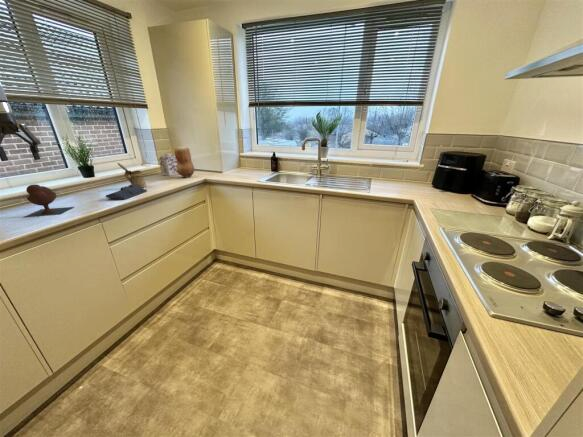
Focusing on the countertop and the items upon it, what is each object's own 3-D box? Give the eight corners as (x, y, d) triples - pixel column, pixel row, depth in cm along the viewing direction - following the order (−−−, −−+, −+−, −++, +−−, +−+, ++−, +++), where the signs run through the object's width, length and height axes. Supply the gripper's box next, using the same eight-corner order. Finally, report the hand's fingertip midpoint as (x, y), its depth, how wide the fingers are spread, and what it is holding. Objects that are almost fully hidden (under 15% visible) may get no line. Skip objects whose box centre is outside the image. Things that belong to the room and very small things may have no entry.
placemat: (19, 219, 116) (19, 218, 116) (41, 209, 129) (41, 209, 129) (57, 216, 119) (57, 215, 119) (74, 207, 132) (74, 206, 132)
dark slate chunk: (101, 199, 143) (99, 192, 142) (129, 190, 164) (127, 183, 162) (124, 200, 141) (122, 192, 140) (149, 190, 162) (147, 183, 160)
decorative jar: (169, 176, 203) (164, 154, 197) (161, 175, 209) (156, 153, 202) (181, 173, 213) (177, 153, 206) (174, 172, 219) (170, 152, 212)
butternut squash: (175, 177, 198) (168, 146, 188) (189, 174, 208) (184, 144, 199) (185, 179, 190) (178, 147, 181) (199, 176, 201) (194, 145, 191)
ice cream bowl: (49, 215, 119) (36, 186, 113) (27, 216, 119) (13, 187, 114) (68, 208, 129) (57, 181, 123) (48, 209, 129) (36, 181, 123)
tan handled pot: (125, 187, 171) (117, 161, 164) (146, 184, 177) (140, 160, 170) (124, 190, 164) (116, 163, 157) (146, 187, 170) (140, 161, 163)
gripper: (39, 113, 115) (56, 158, 123) (-24, 113, 110) (-2, 160, 118) (26, 112, 108) (45, 160, 116) (-41, 112, 103) (-17, 162, 111)
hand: (21, 160), depth 117 cm, fingers open, 13 cm apart
